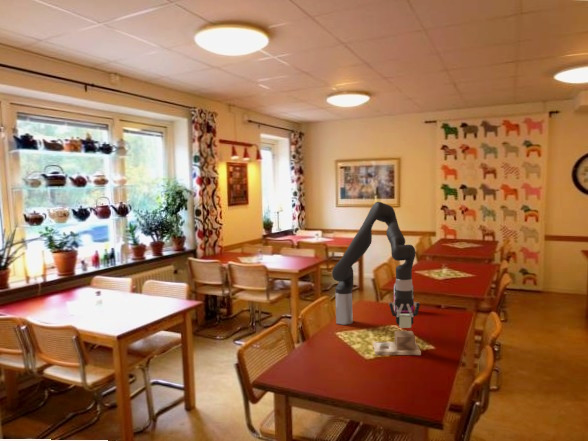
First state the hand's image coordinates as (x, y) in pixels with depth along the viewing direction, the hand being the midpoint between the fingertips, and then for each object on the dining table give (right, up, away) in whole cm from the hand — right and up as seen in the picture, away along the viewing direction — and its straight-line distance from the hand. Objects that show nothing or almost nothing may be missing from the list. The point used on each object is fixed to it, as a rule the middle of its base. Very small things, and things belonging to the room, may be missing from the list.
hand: (404, 324), depth 190 cm
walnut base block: (0, -10, +1) cm, 10 cm away
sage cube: (0, -1, 0) cm, 1 cm away
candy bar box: (+16, -7, +59) cm, 62 cm away
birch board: (-4, -12, +1) cm, 13 cm away
